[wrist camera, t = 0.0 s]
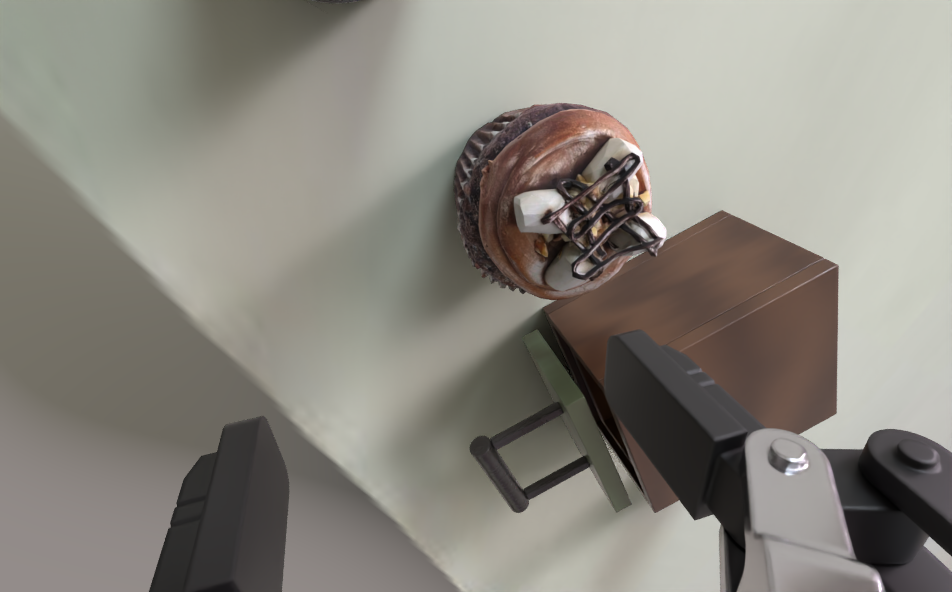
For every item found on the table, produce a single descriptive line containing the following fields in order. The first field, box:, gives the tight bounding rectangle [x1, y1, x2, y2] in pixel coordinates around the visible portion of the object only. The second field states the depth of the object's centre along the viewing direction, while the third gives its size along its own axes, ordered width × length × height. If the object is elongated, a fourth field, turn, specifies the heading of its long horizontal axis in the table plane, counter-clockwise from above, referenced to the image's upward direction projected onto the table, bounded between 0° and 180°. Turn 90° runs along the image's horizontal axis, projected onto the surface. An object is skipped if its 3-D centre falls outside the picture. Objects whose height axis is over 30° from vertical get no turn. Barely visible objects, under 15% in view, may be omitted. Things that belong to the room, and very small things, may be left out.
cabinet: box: [543, 210, 839, 513], centre depth 32 cm, size 14×13×9 cm
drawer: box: [470, 330, 633, 513], centre depth 32 cm, size 19×12×7 cm, turn 115°
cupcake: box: [454, 103, 666, 300], centre depth 23 cm, size 10×10×10 cm
